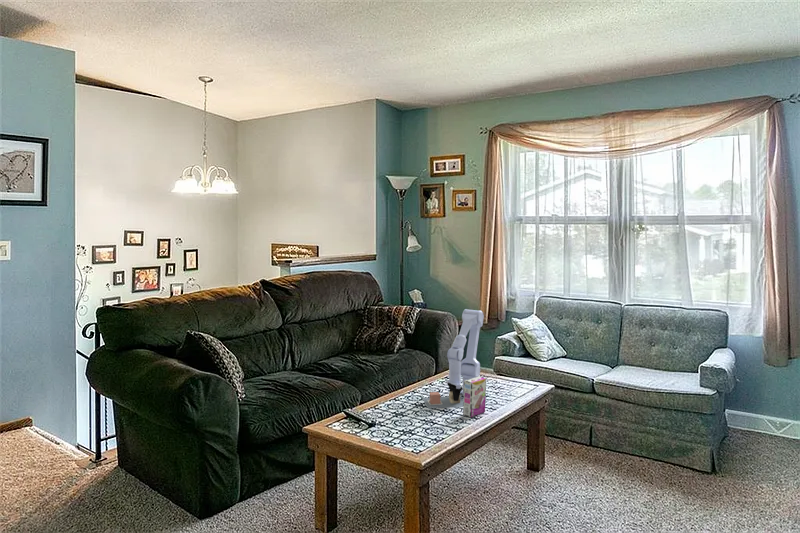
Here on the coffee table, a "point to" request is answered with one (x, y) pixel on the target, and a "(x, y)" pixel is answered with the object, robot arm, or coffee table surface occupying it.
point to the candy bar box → (474, 396)
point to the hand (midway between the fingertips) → (454, 398)
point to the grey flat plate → (443, 403)
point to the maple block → (452, 398)
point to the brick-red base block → (434, 397)
